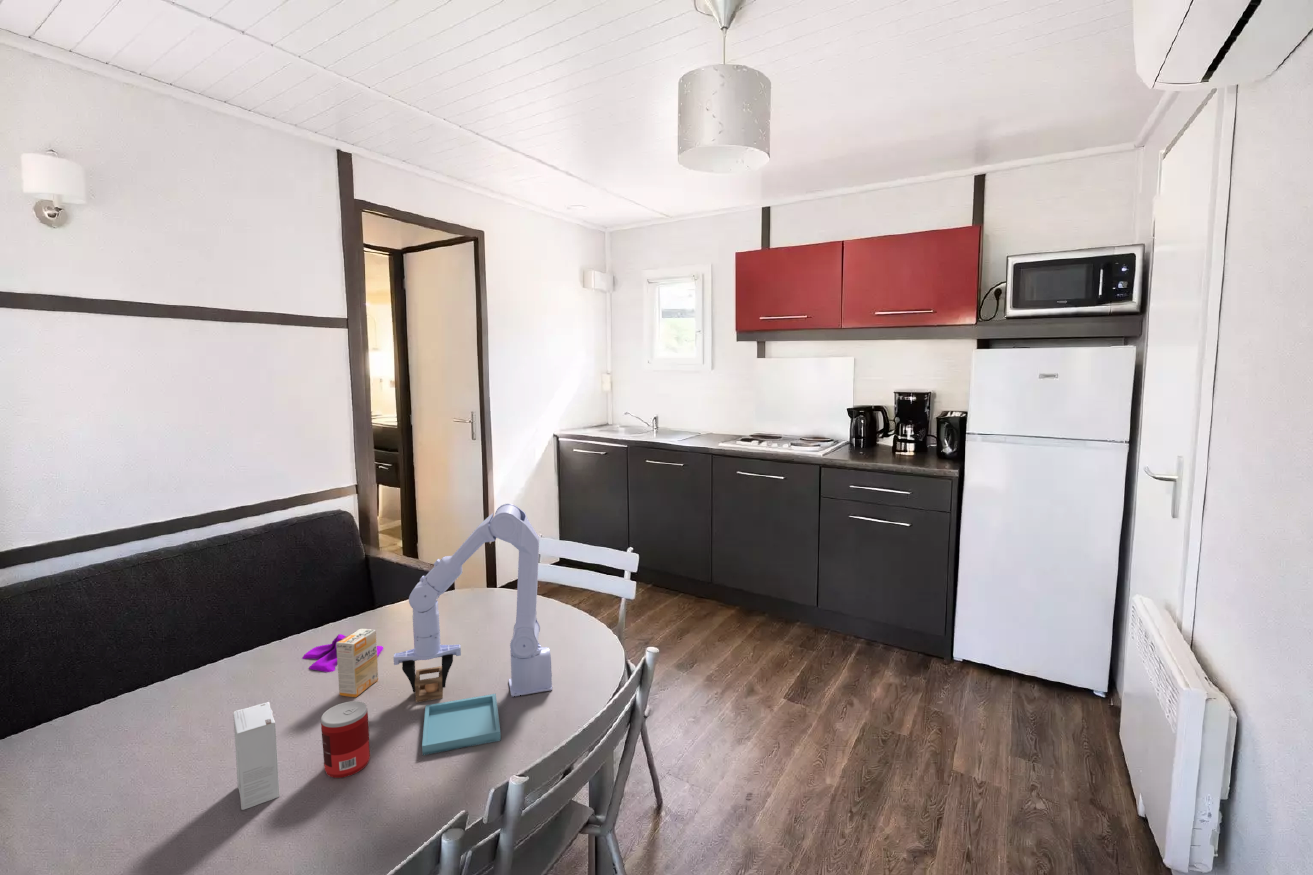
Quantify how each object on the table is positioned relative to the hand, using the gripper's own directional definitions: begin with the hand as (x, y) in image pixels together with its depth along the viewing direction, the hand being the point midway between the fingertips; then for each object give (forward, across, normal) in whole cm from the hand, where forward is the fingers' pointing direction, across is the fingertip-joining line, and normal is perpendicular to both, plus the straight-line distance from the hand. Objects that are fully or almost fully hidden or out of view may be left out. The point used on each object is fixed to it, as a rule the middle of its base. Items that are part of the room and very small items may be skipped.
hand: (429, 687), depth 141 cm
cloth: (+2, +23, -29) cm, 37 cm away
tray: (+1, -7, +16) cm, 18 cm away
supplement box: (+2, +16, -8) cm, 18 cm away
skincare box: (+2, +28, +25) cm, 38 cm away
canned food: (+2, +14, +22) cm, 26 cm away
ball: (0, 0, +1) cm, 1 cm away
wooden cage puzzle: (+2, 0, 0) cm, 2 cm away
